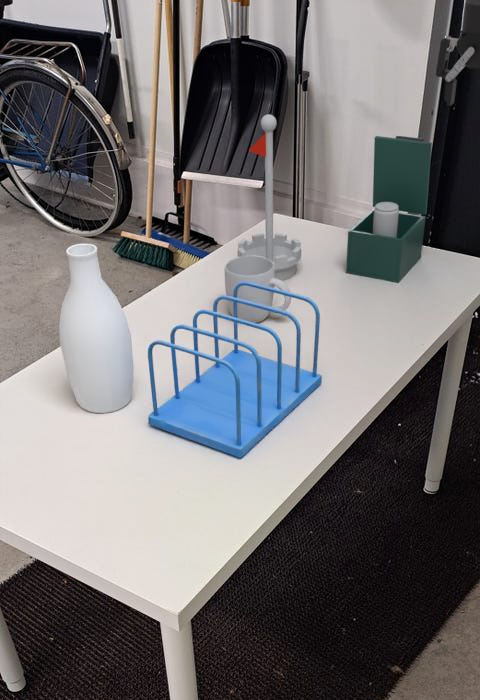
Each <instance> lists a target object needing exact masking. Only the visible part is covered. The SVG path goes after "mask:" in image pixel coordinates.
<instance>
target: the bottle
mask: <svg viewBox="0 0 480 700" xmlns="http://www.w3.org/2000/svg"><path fill="white" fill-rule="evenodd" d="M65 255H66V256H67V260H68V267H69V276H70V283H69V286H68V288H67V291H66V293H65V297H64V299H63V300H62V304H61V307H60V308H61V309H60V315H59V322H58V324H59V325H58V326H59V328H58V330H59V331H58V333H59V345H60V349H61V353H62V359H63V362H64V366H65V370H66V375H67V378H68V380H69V383H70V384H69V385H70V386H71V389H72V391H73V395H74V397H75V400H76V402H77V404H78V405H79V406H80V407H81V408H82V409H83V410H85V411H87V412H88V413H89V412H90V413H95V414H108V413H113V412H116V411H120V410H121V409H123V408H124V407H126V406H127V405H128V404H129V402H130V401H131V400H132V398H133V393H134V390H133V389H134V356H133V355H134V354H133V341H132V334H131V330H130V326H129V324H128V320H127V317H126V314H125V312H124V310H123V307H122V305H121V303H120V302H119V299H118V297H117V296H116V295H115V293H114V292H113V291H112V290H111V288H110V287H109V286H108V284H107V283H106V282H105V280H103V278H102V274H101V269H100V263H99V259H98V247H97V246H96V245H95V244H92V243H76V244H73V245H71V246H69V247H68V248H66V249H65Z"/></svg>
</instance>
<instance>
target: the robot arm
mask: <svg viewBox="0 0 480 700" xmlns="http://www.w3.org/2000/svg"><path fill="white" fill-rule="evenodd" d="M455 47H456V49H457V51H458V53H459V55H460V58H459V59H458V60H457V62H455V64H454V65H453V67H452V68H451V69H449V68H448V65H449V59H450V55H451V52H453V51H454V49H455ZM465 67H467V68H468V69H469V70H471V69H472V70H474V69H478V70H480V0H464V3H463V11H462V20H461V29H460V35H459V37H458V38H456V37H452V36H451V35H446V36H445V37H443V38H442V39H441V41H440V45H439V51H438V56H437V64H436V69H435V75H436V77H438V78H442V79H443V80H444V82H445V88H444V96H443V99H444V102H446V106H452V105H453V104H454V103H455V99H456V92H457V91H456V90H457V83H458V80H457V79H456V78H457V76H458V75H459V74H460V72H461V71H462V70H463V69H464V68H465Z"/></svg>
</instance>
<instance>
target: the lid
mask: <svg viewBox="0 0 480 700" xmlns="http://www.w3.org/2000/svg"><path fill="white" fill-rule="evenodd" d="M373 143H374V146H373V148H374V149H373V177H372V178H373V179H372V180H373V181H372V185H373V187H372V207H373V208H375V205H376V204H378V203H381V202H392V203H396V204H397V205H398V206H399V207H398V209H399V212H402V213H409V214H415V215H416V214H417V215H422V216H426V215H427V212H428V198H429V186H430V173H431V159H432V145H433V143H432V142H430V141H425V139H424V138H422V137H414V136H403V135H395V137H390V136H381V135H375V136H374V142H373Z"/></svg>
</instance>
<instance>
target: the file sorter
mask: <svg viewBox="0 0 480 700" xmlns="http://www.w3.org/2000/svg"><path fill="white" fill-rule="evenodd" d="M243 285H246V286H250V287H255V288H258V289H263V290H267V291H270V292H274V294H277V295H282V296H284V295H285V296H289V297H291V298H293V299H297V300H300V301H304V302H306V303H308V304H309V305H310V306H311V307H312V308H313V310H314V313H315V326H314V327H315V328H314V345H313V362H312V363H313V364H312V371H311V370H307V369H304V368H301V343H302V341H301V339H302V333H301V325H300V322H299V320H298V319H297V318H296V317H295V316H294V315H293V314H292V313H291V312H289V311H287V310H285V311H283V310H280V309H276V308H272V307H273V306H272V307H269V306H265V305H262V304H258V303H254V302H250V301H247V300H243V299H239V298H237V292H238V289H239V287H240V286H243ZM290 292H291V291H290ZM290 292H287V291H283V290H280V289H279V288H276V287H274V288H271V287H268V286H264V285H260V284H256V283H252V282H247V281H244V282H241V283H239V284H238V285H236V287H235V289H234V292H233V297H231V296H227V295H226V294H224V295H220V296H218V297H217V298H216V299H214V302H213V305H212V310H211V309H200V310H197V312H196V313H195V314H194V315H193V317H192V326H191V325H186V324H178V325H175V326H174V327H173V328H172V329H171V331H170V342H168V341H164V340H161V339H160V340H159V339H158V340H154V341H152V342H151V343H150V344H149V346H148V349H147V361H148V372H149V381H150V391H151V400H152V409H153V410H152V412H151V413H150V414H148V415H147V419H148V425H149V426H152V427H154V428H158V429H160V430H163V431H166V432H168V433H171V434H174V435H177V436H180V437H182V438H184V439H187V440H191V441H194V442H196V443H199V444H202V445H204V446H207V447H210V448H212V449H215V450H217V451H220V452H224V453H226V454H228V455H232V456H234V457H237V458H243V457H244V456H245V455H246V454H247V453H248V452H249V451H250V450H251V449H252V448H253V447H254V446H256V444H258V443H259V442H260V441H261V440H262V439H263V438H264V437H265V436H266V435H267V434H268V433H270V431H271V430H272V429H274V428H275V427H276V426H277V425H278V424H279V423H280V422H281V421H282V420H284V418H286V417H287V416H288V415H289V414H290V413H291V412H292V411H293V410H294V409H296V407H297V406H298V405H300V404H301V403H302V402H303V401H304V400H305V399H306V398H307V397H309V395H310V394H312V393H313V392H314V391H315V390H316V389H317V388H319V386H320V385H321V384H322V382H323V381H322V380H323V379H322V377H323V376H322V374H320V373H317V372H318V359H319V357H318V356H319V342H320V340H319V338H320V326H321V325H320V323H321V313H320V309H319V306H318V304H316V302H315V301H314V300H313V299H311V298H310V297H308V296H304V295H301V294H298V293H294V292H291V293H290ZM223 300H225V301H227V300H230V301H233V312H234V317H233V315H227V314H225V313H221V312H218V304H219V302H220V301H223ZM237 303H241V304H245V305H249V306H253V307H256V308H260V309H264V310H267V311H271V312H274V313H278V315H281V316H285V317H287V318H288V319H290V320H291V321H292V322H293V324H294V325H295V331H296V349H295V350H296V351H295V366H294V365H291V364H287V363H284V362H283V345H282V341H281V338H280V336H279V335H278V334H277V333H276V331H275V330H274V329H272V328H270V327H269V326H266V325H263V324H259V323H253V322H249V321H246V320H242V319H239V318H237ZM274 313H273V314H274ZM200 315H208V316H212V322H213V323H212V324H213V332H211V331H208V330H205V329H202V328H198V318H199V316H200ZM218 318H220V319H222V320H223V319H224V320H227V321H230V322H233V338H231V337H228V336H226V335H225V336H224V335H222V334H219V326H218V325H219V324H218V323H219V322H218V321H219V320H218ZM238 324H241V325H244V326H248V327H251V328H254V329H258V330H260V331H264V332H267V333H268V334H270V336H272V337H273V338H274V340H275V342H276V345H277V348H276V349H277V354H276V355H277V360H275V359H271V358H268V357H265V356H261V355H259V353H258V351H257V350H256V349H255V348H254V347H253V346H252V345H251V344H249V343H248V342H245V341H241V340H239V338H238V337H239V336H238V333H239V332H238V330H239V329H238ZM178 330H185V331H189V332H192V336H193V338H192V339H193V349H191V348H189V347H188V348H187V347H185V346H182V345H178V344H176V342H175V341H176V340H175V339H176V337H175V336H176V335H175V334H176V332H177V331H178ZM198 334H199V335H202V336H206V337H210V338H213V343H214V356H213V355H211V354H207V353H204V352H201V351H199V341H198V339H199V337H198ZM219 341H223V342H226V343H230V344H233V349H232V350H231V351H230V352H228V353H227V354H226V355H224V356H223V357H222V358H220V350H219V349H220V347H219ZM156 345H157V346H163V347H166V348H169V349H170V353H171V363H172V364H171V365H172V373H173V385H174V386H173V387H174V395H173V396H171V398H169V399H168V400H167V401H165V402H164V403H163V404H161V405H159V407H158V401H157V400H158V399H157V390H156V379H155V369H154V358H153V349H154V347H155V346H156ZM239 346H240V347H242V348H245V349H247V350H248V351H249V352H247V351H244V350H242V349H239ZM176 350H177V351H179V352H183V353H187V354H189V355H193V356H194V369H195V379H194V380H192V381H191V382H190V383H188V384H187V385H185V386H184V387H183V388H182V389H181V390H180V386H179V376H178V363H177V354H176ZM199 358H202V359H205V360H209V361H211V362H214V364H213V365H212V366H211V367H209V368H208V369H207V370H205V371H204V372H203V373H200V372H201V371H200V359H199Z"/></svg>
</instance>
